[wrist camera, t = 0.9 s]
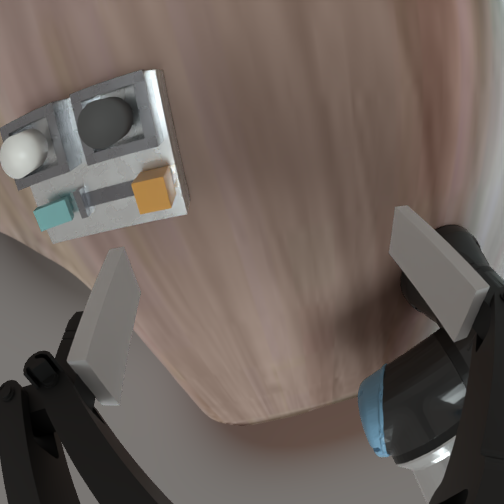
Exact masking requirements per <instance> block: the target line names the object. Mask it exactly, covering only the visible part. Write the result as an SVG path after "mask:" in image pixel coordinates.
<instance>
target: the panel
mask: <svg viewBox="0 0 504 504" xmlns="http://www.w3.org/2000/svg"><path fill="white" fill-rule="evenodd" d="M107 97H119V98H121V99H123V100H125V101H126V102H127V103H128V104H129V105H130V107H131V109H132V112H133V124H132V127H131V129H130V131H129V132H128V134H127V135H126V136H124V137H123V138H122V139H120V140H119V141H117V142H116V143H114V144H113V145H111V146H110V147H107V148H104V149H94V148H91V147H89V146H87V145H86V144H85V143H84V142H83V141H82V140H81V138H80V136H79V134H78V130H77V121H78V117H79V114H80V112H81V111H82V109H83V108H84V107H85V106H86V105H87V104H88V103H90V102H92V101H95V100H98V99H103V98H107ZM27 129H37V130H39V131H40V132H41V133H42V134H43V135H44V136H45V138H46V140H47V144H48V154H47V158H46V160H45V162H44V163H43V164H42V165H41V166H40V167H38V168H37V169H35V170H34V171H32V172H30V173H29V174H27V175H26V176H24V177H23V178H20V179H15V178H14V179H15V182H16V185H17V188H18V190H21V189H23V188H26V187H29V186H30V187H31V190H32V193H33V195H34V198H35V201H36V204H37V206H38V207H39V206H42V205H44V204H47V203H50V202H52V201H55V200H57V199H60V198H63V197H65V196H67V197H68V200H69V203H70V205H71V208H72V211H73V214H74V218H73V220H72V221H69V222H66V223H63V224H60V225H58V226H55V227H52V228H49V229H47V232H48V234H49V236H50V239H51V241H52V243H53V244H54V243H58V242H62V241H66V240H70V239H75V238H79V237H83V236H87V235H91V234H96V233H100V232H105V231H109V230H114V229H118V228H123V227H127V226H132V225H137V224H141V223H146V222H151V221H156V220H161V219H165V218H170V217H176V216H181V215H186V214H187V213H188V208H189V204H190V196H189V192H188V188H187V183H186V179H185V175H184V170H183V166H182V162H181V157H180V153H179V148H178V144H177V139H176V134H175V130H174V125H173V120H172V115H171V110H170V106H169V101H168V96H167V90H166V85H165V80H164V75H163V70H158V69H154V70H150V71H149V70H139V71H136V72H133V73H129V74H126V75H123V76H120V77H117V78H114V79H111V80H108V81H105V82H102V83H99V84H96V85H93V86H91V87H88V88H85V89H83V90H80V91H77V92H75V93H72V94H70V97H69V98H67V99H64V100H59V101H55V102H51V103H49V104H47V105H44V106H42V107H40V108H38V109H36V110H34V111H32V112H30V113H28V114H26V115H24V116H22V117H20V118H18V119H16V120H14V121H12V122H10V123H8V124H6V125H4V126H3V127H1V128H0V132H1V136H2V139H3V143H4V141H5V140H6V139H7V138H9V137H10V136H13V135H15V134H18V133H20V132H22V131H25V130H27ZM165 166H169V167H170V171H171V175H172V179H173V183H174V187H175V191H176V196H175V199H174V202H173V205H172V208H169V209H164V210H160V211H155V212H150V213H145V214H141V215H140V212H139V209H138V206H137V203H136V199H135V196H134V193H133V189H132V186H131V183H132V182H133V181H134V179H135V178H136V177H137V176H138V174H139V173H140V172H144V171H148V170H152V169H156V168H161V167H165Z"/></svg>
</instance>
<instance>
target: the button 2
mask: <svg viewBox="0 0 504 504" xmlns="http://www.w3.org/2000/svg"><path fill="white" fill-rule="evenodd" d="M132 124H133V112H132V109H131V107H130V105H129V104H128V103H127V102H126V101H125V100H123V99H121V98H119V97H107V98H103V99H98V100H95V101H92V102H90V103H88V104H87V105H86V106H85V107H84V108H83V109H82V111H81V112H80V114H79V117H78V121H77V130H78V134H79V136H80V138H81V140H82V141H83V142H84V143H85V144H86V145H87V146H89V147H91V148H94V149H104V148H107V147H110V146H111V145H113V144H114V143H116V142H117V141H119V140H120V139H122V138H123V137H124V136H126V135H127V134H128V132H129V131H130V129H131V127H132Z"/></svg>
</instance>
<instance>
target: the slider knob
mask: <svg viewBox="0 0 504 504" xmlns="http://www.w3.org/2000/svg"><path fill="white" fill-rule="evenodd" d="M131 186H132V189H133V193H134V196H135V199H136V203H137V206H138V209H139V212H140V215H141V214H145V213H150V212H155V211H160V210H164V209H169V208H172V205H173V202H174V199H175V196H176V191H175V187H174V183H173V179H172V175H171V171H170V167H169V166H165V167H161V168H156V169H152V170H148V171H144V172H140V173H139V174H138V176H137V177H136V178H135V179H134V181H133V182H132V183H131Z"/></svg>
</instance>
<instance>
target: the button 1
mask: <svg viewBox="0 0 504 504" xmlns="http://www.w3.org/2000/svg"><path fill="white" fill-rule="evenodd" d="M47 154H48V144H47V140H46V138H45V136H44V135H43V134H42V133H41V132H40V131H39V130H37V129H27V130H25V131H22V132H20V133H18V134H15V135H13V136H10V137H9V138H7V139H6V140H5V141H4V143H3V144H2V147H1V150H0V162H1V165H2V168H3V170H4V171H5V173H6V174H7V175H8V176H10V177H12V178H15V179H20V178H23V177H24V176H26V175H27V174H29V173H30V172H32V171H34V170H35V169H37V168H38V167H40V166H41V165H42V164H43V163H44V162H45V160H46V158H47Z"/></svg>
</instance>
